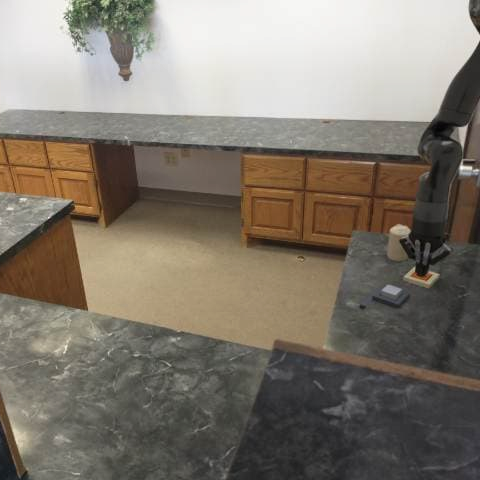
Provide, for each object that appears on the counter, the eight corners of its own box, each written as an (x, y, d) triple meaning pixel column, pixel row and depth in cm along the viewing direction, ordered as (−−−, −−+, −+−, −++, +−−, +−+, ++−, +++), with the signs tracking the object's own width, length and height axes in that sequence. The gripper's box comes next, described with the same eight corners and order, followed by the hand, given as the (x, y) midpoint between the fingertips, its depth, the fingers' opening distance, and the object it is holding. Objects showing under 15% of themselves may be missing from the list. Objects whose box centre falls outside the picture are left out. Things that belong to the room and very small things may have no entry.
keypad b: (381, 287, 135) (382, 278, 134) (420, 300, 128) (422, 290, 127) (359, 307, 128) (360, 297, 127) (399, 322, 121) (400, 312, 120)
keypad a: (410, 270, 141) (412, 260, 140) (449, 281, 135) (451, 271, 133) (391, 288, 134) (392, 278, 133) (430, 301, 128) (432, 291, 126)
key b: (387, 290, 130) (388, 284, 129) (401, 294, 127) (402, 288, 126) (380, 296, 127) (381, 290, 127) (394, 301, 125) (395, 295, 124)
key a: (416, 275, 136) (417, 270, 135) (430, 279, 134) (431, 274, 133) (410, 281, 134) (411, 275, 133) (425, 285, 132) (425, 279, 131)
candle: (384, 253, 151) (387, 222, 147) (403, 252, 151) (407, 221, 146) (391, 262, 146) (394, 231, 142) (410, 260, 146) (415, 229, 141)
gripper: (464, 215, 123) (453, 277, 131) (409, 204, 132) (402, 262, 140) (452, 226, 119) (441, 289, 127) (396, 213, 128) (389, 273, 136)
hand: (420, 274), depth 133 cm, fingers closed
